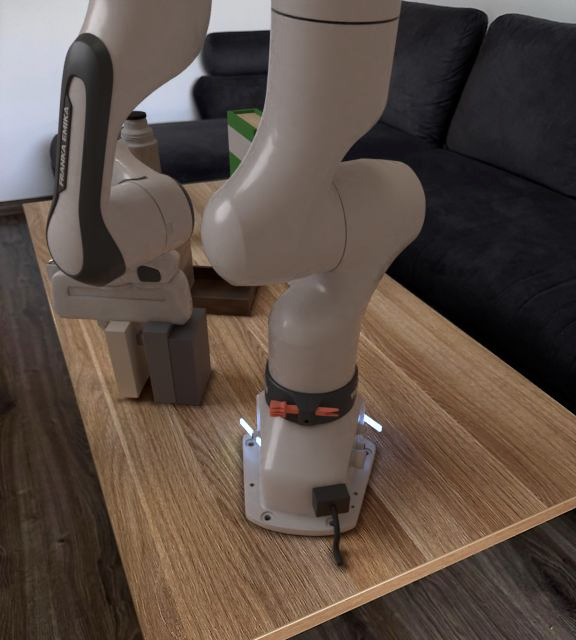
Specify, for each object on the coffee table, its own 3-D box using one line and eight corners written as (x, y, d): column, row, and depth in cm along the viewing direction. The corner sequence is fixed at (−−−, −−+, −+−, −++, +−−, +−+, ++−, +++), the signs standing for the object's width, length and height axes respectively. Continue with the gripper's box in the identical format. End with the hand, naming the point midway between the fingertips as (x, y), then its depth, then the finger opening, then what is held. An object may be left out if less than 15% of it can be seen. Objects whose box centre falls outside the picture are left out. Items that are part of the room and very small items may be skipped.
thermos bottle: (151, 230, 143) (133, 106, 126) (176, 238, 140) (161, 111, 123) (127, 242, 138) (106, 113, 121) (153, 250, 135) (134, 119, 118)
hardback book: (284, 230, 144) (285, 126, 129) (256, 235, 142) (253, 129, 127) (258, 205, 157) (256, 108, 142) (232, 209, 154) (227, 111, 140)
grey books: (211, 371, 98) (205, 302, 90) (199, 405, 91) (191, 334, 83) (169, 368, 99) (159, 299, 91) (154, 402, 92) (142, 331, 84)
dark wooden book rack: (258, 284, 122) (257, 223, 114) (248, 316, 112) (246, 252, 104) (164, 278, 124) (156, 218, 116) (146, 310, 114) (135, 247, 106)
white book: (154, 364, 98) (143, 301, 91) (138, 398, 91) (124, 331, 84) (137, 363, 99) (124, 300, 92) (119, 396, 92) (104, 330, 84)
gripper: (32, 265, 81) (56, 350, 89) (179, 272, 79) (189, 358, 87) (52, 246, 86) (73, 328, 94) (190, 253, 84) (199, 335, 92)
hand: (130, 342), depth 91 cm, fingers closed on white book, 3 cm apart
